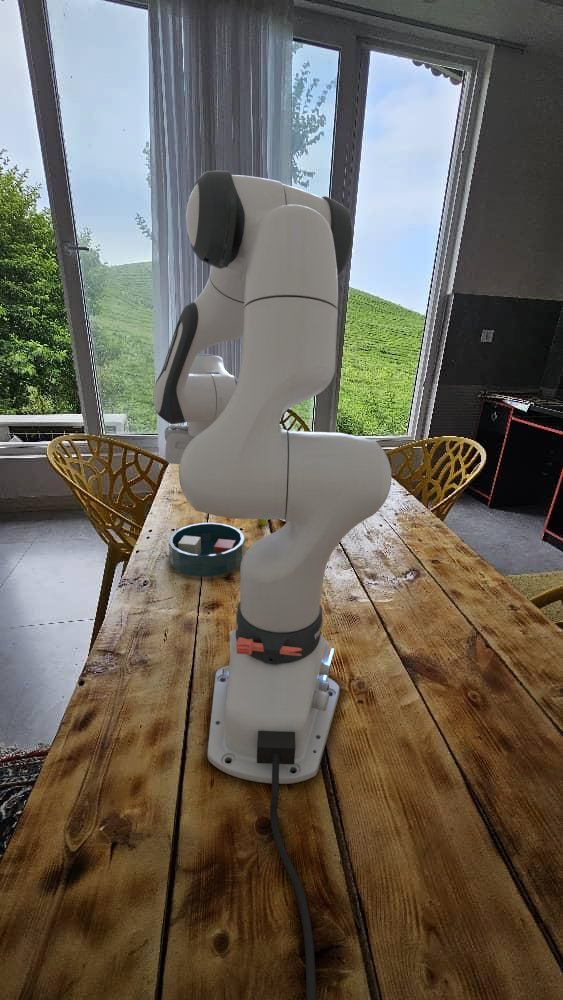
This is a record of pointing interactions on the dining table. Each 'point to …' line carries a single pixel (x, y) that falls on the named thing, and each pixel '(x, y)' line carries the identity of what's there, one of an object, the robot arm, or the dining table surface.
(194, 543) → the cream block
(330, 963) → the dining table surface
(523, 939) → the dining table surface
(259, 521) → the fruit
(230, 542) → the terracotta block
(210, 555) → the bowl
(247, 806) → the dining table surface
